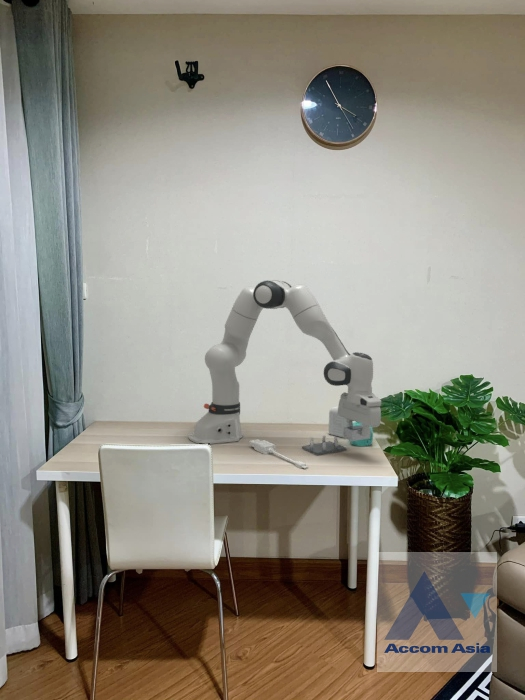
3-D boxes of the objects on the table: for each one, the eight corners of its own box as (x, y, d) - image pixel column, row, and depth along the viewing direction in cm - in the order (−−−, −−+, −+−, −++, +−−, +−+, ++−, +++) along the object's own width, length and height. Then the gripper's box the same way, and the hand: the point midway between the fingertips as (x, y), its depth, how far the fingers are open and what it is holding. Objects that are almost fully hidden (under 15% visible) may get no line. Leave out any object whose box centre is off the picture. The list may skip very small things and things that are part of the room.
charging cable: (300, 473, 211) (300, 464, 210) (248, 447, 237) (248, 438, 236) (311, 471, 213) (312, 462, 213) (258, 445, 239) (259, 437, 239)
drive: (351, 441, 223) (352, 430, 222) (343, 437, 227) (343, 426, 226) (370, 438, 227) (371, 427, 227) (361, 434, 232) (362, 424, 231)
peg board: (317, 455, 228) (317, 445, 227) (301, 448, 236) (301, 438, 235) (346, 450, 235) (346, 439, 234) (329, 443, 243) (330, 433, 243)
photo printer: (352, 437, 253) (354, 408, 252) (346, 439, 250) (347, 409, 248) (332, 432, 260) (333, 404, 259) (326, 434, 257) (327, 405, 255)
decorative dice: (352, 446, 240) (353, 426, 239) (349, 440, 248) (349, 421, 247) (372, 446, 240) (373, 426, 239) (368, 440, 248) (369, 421, 247)
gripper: (334, 391, 232) (332, 427, 234) (371, 403, 215) (369, 441, 217) (347, 390, 235) (345, 425, 237) (384, 401, 218) (382, 439, 220)
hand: (357, 433), depth 227 cm, fingers closed on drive, 5 cm apart
